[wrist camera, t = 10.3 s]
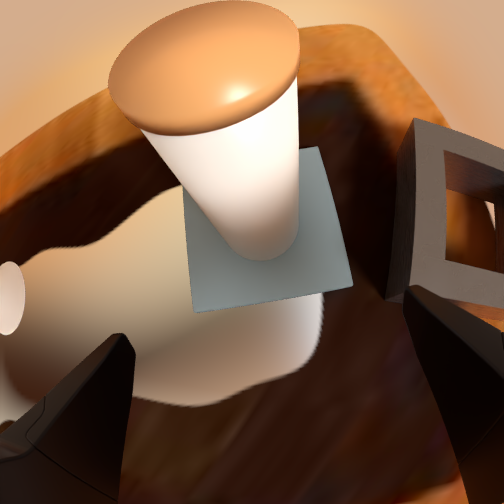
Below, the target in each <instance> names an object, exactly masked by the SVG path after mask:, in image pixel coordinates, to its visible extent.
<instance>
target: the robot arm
mask: <svg viewBox="0 0 504 504" xmlns="http://www.w3.org/2000/svg"><path fill="white" fill-rule="evenodd" d="M402 311H403V316H404V318H405V321H406V324H407V327H408V330H409V333H410V336H411V339H412V342H413V345H414V348H415V351H416V354H417V357H418V359H419V362H420V364H421V366H422V368H423V371H424V373H425V375H426V378H427V380H428V383H429V385H430V387H431V390H432V392H433V395H434V397H435V400H436V402H437V405H438V408H439V410H440V413H441V415H442V418H443V421H444V424H445V426H446V429H447V432H448V435H449V438H450V441H451V444H452V447H453V450H454V453H455V456H456V459H457V462H458V464H459V465H458V466H459V469H460V473H461V476H462V480H463V483H464V487H465V490H466V494H467V498H468V502H469V504H502V503H504V332H502V333H501V331H500V330H499V329H497V328H495V327H494V326H492V325H490V324H488V323H487V322H485V321H483V320H481V319H480V318H478V317H476V316H474V315H473V314H471V313H469V312H467V311H466V310H464V309H462V308H460V307H458V306H457V305H455V304H453V303H451V302H449V301H448V300H446V299H444V298H442V297H440V296H438V295H437V294H435V293H433V292H431V291H429V290H427V289H425V288H424V287H422V286H420V285H417V284H416V285H411V286H407V287H406V288H405V290H404V298H403V306H402ZM135 359H136V354H135V350H134V348H133V347H132V345H131V343H130V342H129V340H128V338H127V337H126V335H125V334H123V333H116V334H112V335H111V336H110V337H109V338H107V340H105V341H104V342H103V343H102V344H101V345H100V346H99V347H97V348H96V349H95V350H94V351H93V352H92V353H91V354H90V355H89V356H87V357H86V358H85V359H84V360H83V361H82V362H81V363H80V364H79V365H78V366H76V367H75V368H74V369H73V370H72V371H71V372H70V373H69V374H68V375H67V376H66V377H64V378H63V379H62V380H61V381H60V382H59V383H58V384H57V385H56V386H55V387H54V388H53V389H52V390H50V391H49V392H48V393H47V394H46V396H44V397H43V398H42V399H41V400H40V401H39V402H38V403H37V404H35V405H34V406H33V407H32V408H31V409H30V410H29V411H28V412H27V413H25V414H24V415H23V416H22V417H21V418H20V419H18V420H17V421H16V422H15V423H13V424H12V425H11V426H10V427H8V428H7V429H6V430H5V431H4V432H2V433H1V434H0V504H118V501H117V500H118V493H119V483H120V474H121V466H122V458H123V450H124V443H125V437H126V430H127V424H128V418H129V412H130V406H131V400H132V393H133V382H134V370H135Z"/></svg>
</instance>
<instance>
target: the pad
mask: <svg viewBox="0 0 504 504" xmlns="http://www.w3.org/2000/svg"><path fill="white" fill-rule="evenodd" d="M183 201H184V216H185V230H186V241H187V254H188V264H189V275H190V284H191V293H192V303H193V310H194V312H195V313H200V312H207V311H214V310H221V309H227V308H233V307H240V306H246V305H253V304H259V303H265V302H271V301H277V300H283V299H289V298H294V297H299V296H305V295H311V294H316V293H321V292H327V291H332V290H337V289H342V288H347V287H351V286H353V282H352V277H351V272H350V267H349V263H348V258H347V254H346V250H345V245H344V241H343V237H342V233H341V228H340V224H339V220H338V216H337V213H336V209H335V205H334V201H333V197H332V194H331V190H330V187H329V183H328V179H327V176H326V172H325V169H324V166H323V162H322V159H321V156H320V152H319V149H318V147H311V148H305V149H299V227H298V233H297V236H296V238H295V240H294V242H293V244H292V245H291V246H290V247H289V249H288V250H286V251H285V252H284V253H283V254H281V255H280V256H278V257H276V258H273V259H270V260H266V261H254V260H249V259H246V258H244V257H241V256H240V255H238V254H237V253H235V252H234V251H233V250H232V249H231V247H230V246H229V245H228V244H227V242H226V241H225V240H224V239H223V237H222V236H221V235H220V233H219V232H218V231H217V229H216V228H215V227H214V226H213V224H212V223H211V222H210V220H209V219H208V218H207V216H206V215H205V214H204V213H203V211H202V210H201V209H200V207H199V206H198V205H197V203H196V202H195V201H194V199H193V198H192V197H191V196H190V194H189V193H188V192H187V190H186V189H185V188H184V186H183Z"/></svg>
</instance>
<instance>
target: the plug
mask: <svg viewBox="0 0 504 504" xmlns="http://www.w3.org/2000/svg"><path fill="white" fill-rule="evenodd" d="M299 66H300V48H299V33H298V30H297V27H296V26H295V24H294V22H293V21H292V20H291V19H290V18H289V17H288V16H287V15H286V14H284V13H283V12H281V11H279V10H278V9H275V8H273V7H271V6H268V5H265V4H261V3H256V2H250V1H238V0H237V1H235V0H232V1H231V0H229V1H217V2H210V3H205V4H200V5H197V6H193V7H189V8H186V9H183V10H180V11H178V12H175V13H173V14H171V15H169V16H166V17H165V18H163V19H161V20H159V21H157V22H155V23H154V24H152V25H150V26H149V27H148V28H146V29H145V30H143V31H142V32H141V33H139V34H138V35H137V36H136V37H135V38H134V39H133V40H132V41H130V43H128V44H127V46H126V47H125V48H124V49H123V50H122V51H121V53H120V54H119V56H118V57H117V58H116V60H115V62H114V64H113V66H112V68H111V71H110V74H109V80H108V88H109V93H110V95H111V97H112V99H113V101H114V102H115V103H116V105H117V106H118V107H119V108H120V110H121V111H122V112H123V114H124V115H125V116H126V118H127V119H128V120H129V121H130V122H131V123H132V124H133V125H135V126H136V127H138V128H140V129H141V131H142V132H143V133H144V135H145V136H146V137H147V139H148V140H149V141H150V143H151V144H152V145H153V147H154V148H155V149H156V151H157V152H158V153H159V155H160V156H161V157H162V159H163V160H164V161H165V163H166V164H167V165H168V167H169V168H170V169H171V171H172V172H173V173H174V175H175V176H176V177H177V178H178V180H179V181H180V182H181V184H182V185H183V186H184V188H185V189H186V190H187V192H188V193H189V194H190V196H191V197H192V198H193V199H194V201H195V202H196V203H197V205H198V206H199V207H200V209H201V210H202V211H203V213H204V214H205V215H206V216H207V218H208V219H209V220H210V222H211V223H212V224H213V226H214V227H215V228H216V229H217V231H218V232H219V233H220V235H221V236H222V237H223V239H224V240H225V241H226V242H227V244H228V245H229V246H230V247H231V249H232V250H233V251H234V252H235V253H237V254H238V255H240V256H241V257H244V258H246V259H249V260H254V261H266V260H270V259H273V258H276V257H278V256H280V255H281V254H283V253H284V252H285V251H286V250H288V249H289V247H290V246H291V245H292V244H293V242H294V240H295V238H296V236H297V233H298V227H299V140H298V101H297V73H298V71H299Z"/></svg>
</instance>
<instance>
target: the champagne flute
mask: <svg viewBox="0 0 504 504" xmlns="http://www.w3.org/2000/svg"><path fill="white" fill-rule="evenodd" d="M24 306H25V283H24V278H23V275H22V272H21V270H20V268H19V267H18V266H17V264H15V263H13V262H6V263H4V264H2V265H1V266H0V333H1V334H3V335H9V334H11V333H12V332H14V331H15V330H16V328H17V327H18V325H19V323H20V321H21V318H22V315H23V311H24Z"/></svg>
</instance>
